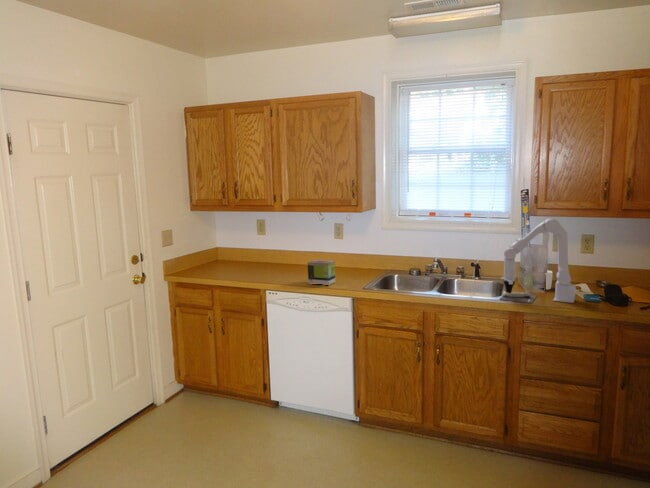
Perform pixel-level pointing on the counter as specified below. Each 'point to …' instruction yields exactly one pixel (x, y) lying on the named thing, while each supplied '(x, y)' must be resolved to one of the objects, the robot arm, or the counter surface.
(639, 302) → the counter surface
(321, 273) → the tea box
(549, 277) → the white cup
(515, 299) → the lock plate
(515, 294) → the lever
